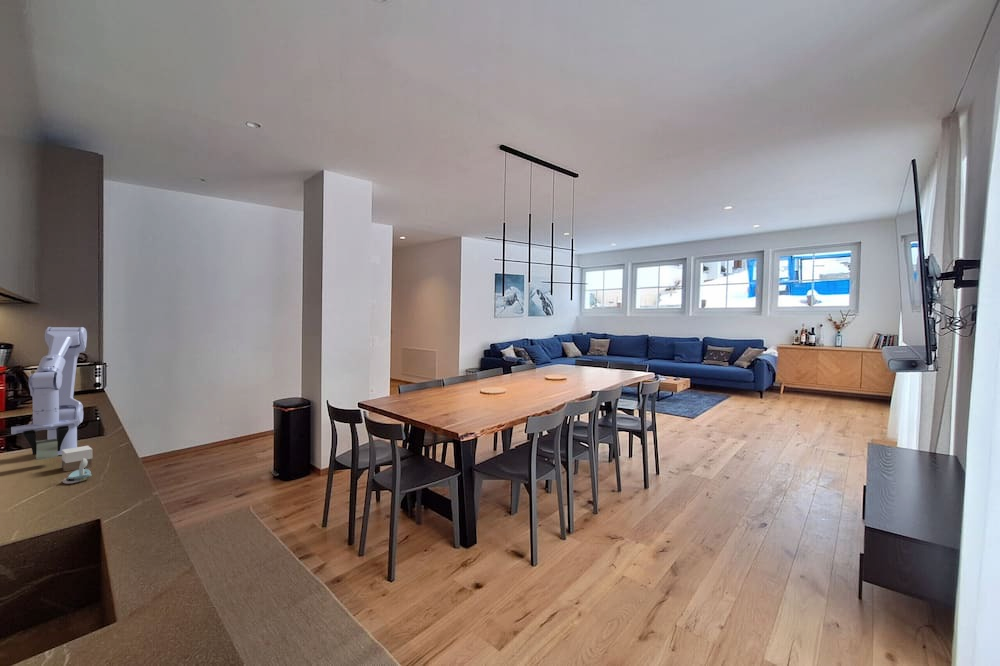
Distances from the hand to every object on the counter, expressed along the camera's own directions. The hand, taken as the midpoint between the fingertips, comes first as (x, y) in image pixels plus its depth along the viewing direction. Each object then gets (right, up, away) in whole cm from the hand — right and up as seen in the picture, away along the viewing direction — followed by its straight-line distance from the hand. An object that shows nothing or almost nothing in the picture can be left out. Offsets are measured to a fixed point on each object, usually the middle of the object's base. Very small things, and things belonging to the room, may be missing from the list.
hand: (46, 452), depth 135 cm
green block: (0, -2, 0) cm, 2 cm away
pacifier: (+21, -5, -12) cm, 25 cm away
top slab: (+11, -2, -1) cm, 11 cm away
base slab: (+11, -5, -1) cm, 12 cm away
